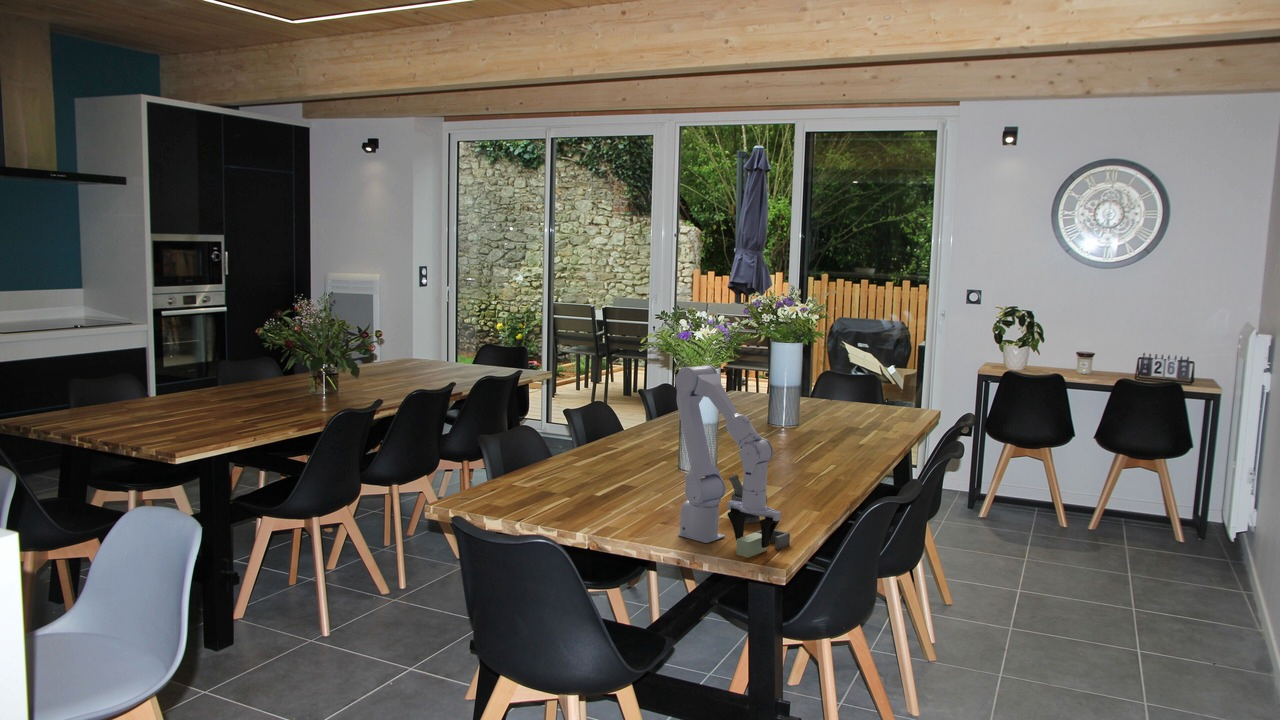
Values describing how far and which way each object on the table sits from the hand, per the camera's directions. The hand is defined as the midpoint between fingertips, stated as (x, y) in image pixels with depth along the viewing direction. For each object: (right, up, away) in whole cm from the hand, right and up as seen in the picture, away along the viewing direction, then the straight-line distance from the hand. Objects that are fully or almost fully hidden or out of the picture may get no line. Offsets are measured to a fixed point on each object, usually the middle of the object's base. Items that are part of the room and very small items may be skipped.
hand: (752, 543), depth 230 cm
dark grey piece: (+6, -2, +7) cm, 9 cm away
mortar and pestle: (+2, +1, +29) cm, 29 cm away
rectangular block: (0, -2, 0) cm, 2 cm away
